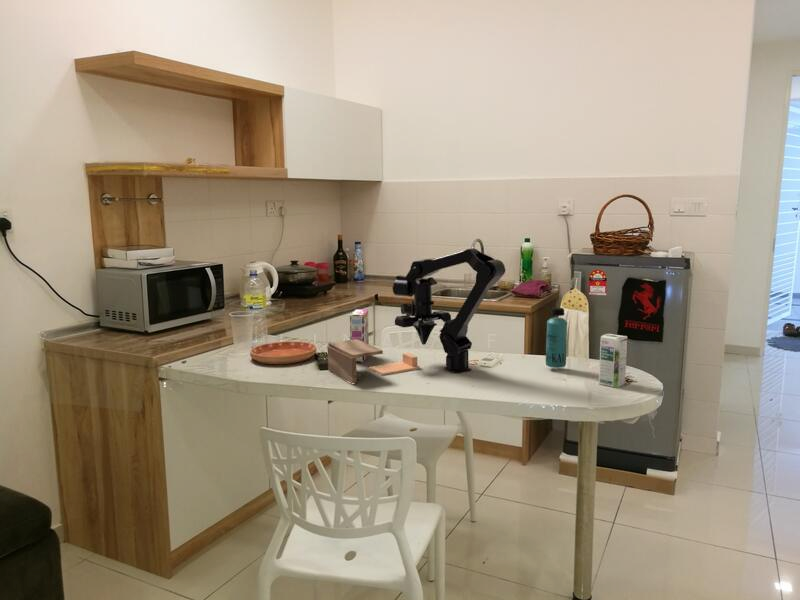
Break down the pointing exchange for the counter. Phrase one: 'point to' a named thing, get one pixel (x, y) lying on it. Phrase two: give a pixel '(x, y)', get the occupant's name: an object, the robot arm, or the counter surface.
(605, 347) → the syrup box
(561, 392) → the counter surface
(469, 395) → the counter surface
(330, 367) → the overhang shelf
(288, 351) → the saucer
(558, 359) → the beverage bottle
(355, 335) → the candy bar box
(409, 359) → the wooden plank with block
